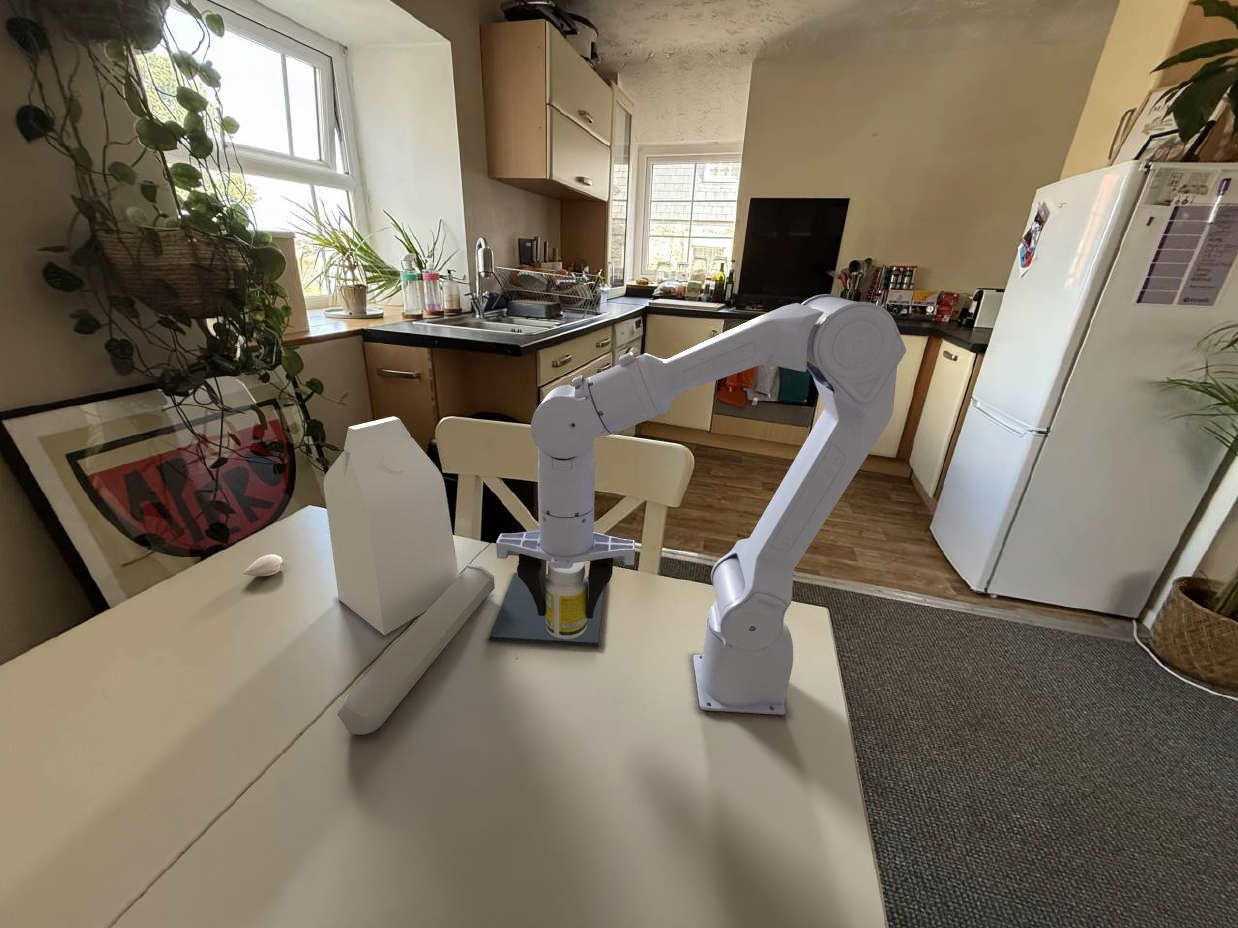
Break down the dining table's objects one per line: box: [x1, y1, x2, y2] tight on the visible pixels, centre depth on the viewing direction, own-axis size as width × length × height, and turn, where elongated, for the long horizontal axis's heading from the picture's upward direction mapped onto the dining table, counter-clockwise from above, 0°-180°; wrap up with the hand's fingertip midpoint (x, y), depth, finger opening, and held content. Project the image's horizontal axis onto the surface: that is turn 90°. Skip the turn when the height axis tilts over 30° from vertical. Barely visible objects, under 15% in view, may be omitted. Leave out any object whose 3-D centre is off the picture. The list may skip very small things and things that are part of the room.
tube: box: [336, 563, 496, 736], centre depth 60 cm, size 5×5×25 cm
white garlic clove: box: [243, 553, 284, 577], centre depth 74 cm, size 4×5×2 cm
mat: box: [489, 572, 605, 647], centre depth 70 cm, size 14×14×1 cm
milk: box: [323, 416, 460, 636], centre depth 66 cm, size 12×12×26 cm
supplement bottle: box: [545, 561, 588, 639], centre depth 55 cm, size 5×5×8 cm
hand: (566, 611), depth 56 cm, fingers closed on supplement bottle, 5 cm apart
